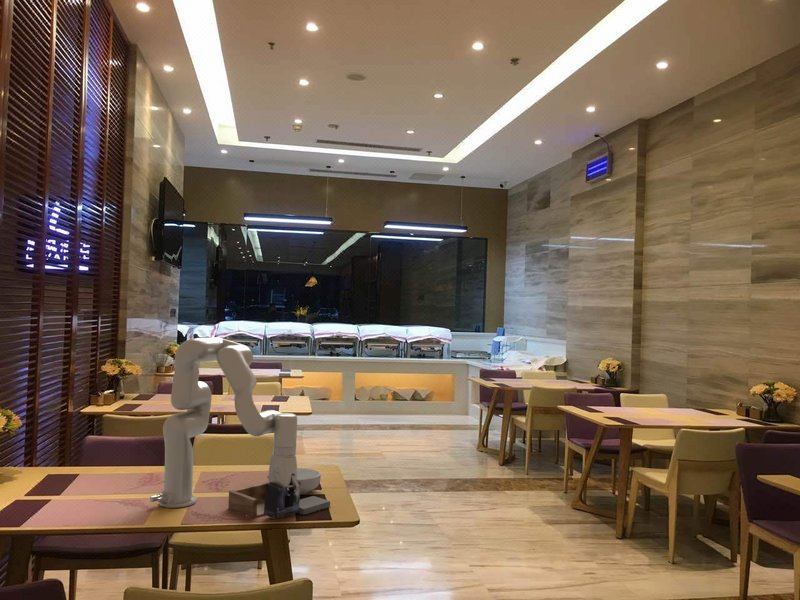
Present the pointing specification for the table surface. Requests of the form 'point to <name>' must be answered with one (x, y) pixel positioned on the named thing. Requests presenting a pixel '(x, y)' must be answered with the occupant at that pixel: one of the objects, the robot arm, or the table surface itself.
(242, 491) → the box
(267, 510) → the small box
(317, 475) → the cereal bowl
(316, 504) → the slate stand
